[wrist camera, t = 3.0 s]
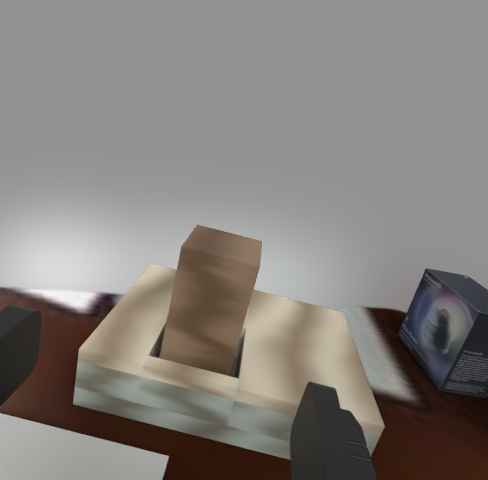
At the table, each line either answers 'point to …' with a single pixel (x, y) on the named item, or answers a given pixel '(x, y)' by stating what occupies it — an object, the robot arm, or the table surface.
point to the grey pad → (70, 455)
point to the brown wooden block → (210, 299)
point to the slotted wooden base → (218, 385)
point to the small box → (449, 332)
